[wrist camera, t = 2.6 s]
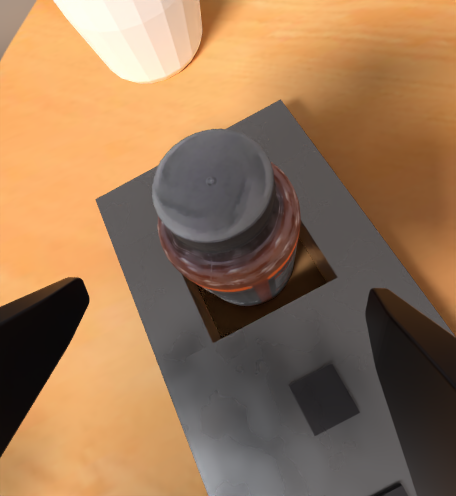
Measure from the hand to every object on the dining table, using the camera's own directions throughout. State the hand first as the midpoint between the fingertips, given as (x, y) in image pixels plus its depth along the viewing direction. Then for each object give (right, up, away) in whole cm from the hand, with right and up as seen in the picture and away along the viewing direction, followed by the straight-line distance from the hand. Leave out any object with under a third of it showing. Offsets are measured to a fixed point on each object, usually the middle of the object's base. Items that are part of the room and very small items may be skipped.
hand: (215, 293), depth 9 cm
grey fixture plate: (+4, -4, +9) cm, 11 cm away
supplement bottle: (+2, 0, +11) cm, 11 cm away
